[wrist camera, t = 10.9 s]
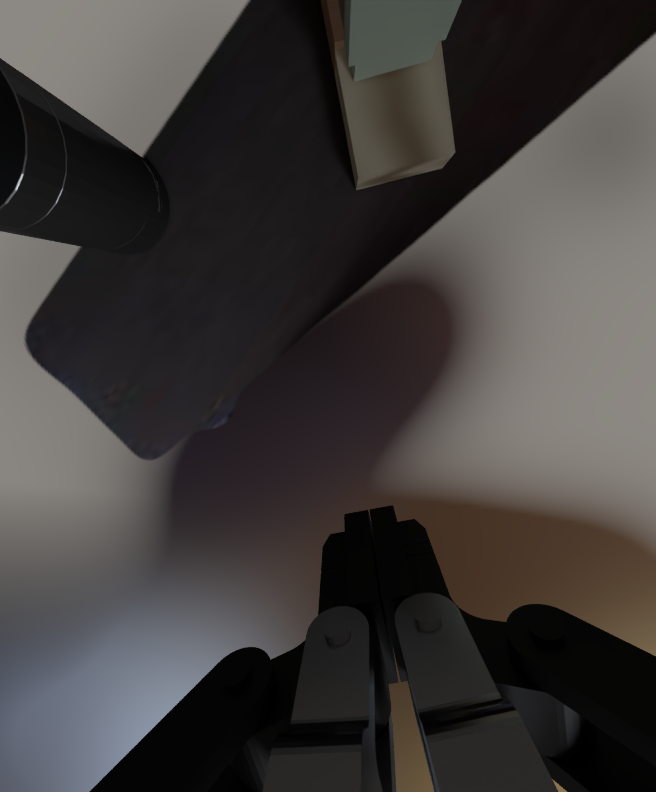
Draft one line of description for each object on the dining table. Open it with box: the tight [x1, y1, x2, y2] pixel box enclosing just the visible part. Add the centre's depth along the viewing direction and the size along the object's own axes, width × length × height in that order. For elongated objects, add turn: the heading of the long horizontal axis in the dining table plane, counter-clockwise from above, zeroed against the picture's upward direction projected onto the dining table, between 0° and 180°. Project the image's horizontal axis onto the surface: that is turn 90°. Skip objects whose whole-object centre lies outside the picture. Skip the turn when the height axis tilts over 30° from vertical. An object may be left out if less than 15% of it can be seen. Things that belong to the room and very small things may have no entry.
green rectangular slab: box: [344, 0, 462, 82], centre depth 24 cm, size 7×2×10 cm, turn 103°
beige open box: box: [335, 41, 455, 190], centre depth 32 cm, size 8×9×4 cm
